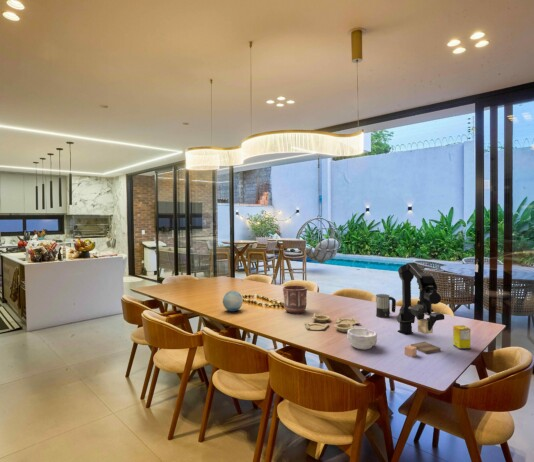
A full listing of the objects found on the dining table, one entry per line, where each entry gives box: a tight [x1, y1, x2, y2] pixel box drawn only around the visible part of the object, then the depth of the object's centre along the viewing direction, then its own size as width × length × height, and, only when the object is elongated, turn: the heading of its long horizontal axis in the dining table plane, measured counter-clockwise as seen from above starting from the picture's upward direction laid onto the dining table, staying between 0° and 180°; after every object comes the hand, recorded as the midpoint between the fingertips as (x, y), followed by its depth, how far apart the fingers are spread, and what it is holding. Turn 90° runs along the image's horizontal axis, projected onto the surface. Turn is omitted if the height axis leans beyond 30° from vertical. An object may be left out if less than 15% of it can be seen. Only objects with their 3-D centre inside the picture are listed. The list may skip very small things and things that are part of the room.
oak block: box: [417, 318, 434, 335], centre depth 177 cm, size 5×5×6 cm
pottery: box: [282, 284, 308, 315], centre depth 253 cm, size 18×18×18 cm
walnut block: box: [410, 341, 441, 355], centre depth 178 cm, size 10×10×2 cm
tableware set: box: [303, 312, 361, 333], centre depth 219 cm, size 35×29×4 cm
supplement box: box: [452, 324, 471, 350], centre depth 179 cm, size 6×6×11 cm
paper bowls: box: [346, 327, 378, 350], centre depth 182 cm, size 15×15×8 cm
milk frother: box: [375, 293, 397, 319], centre depth 242 cm, size 14×16×15 cm
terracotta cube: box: [404, 344, 418, 358], centre depth 170 cm, size 4×4×4 cm
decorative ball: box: [222, 290, 244, 312], centre depth 255 cm, size 15×15×15 cm
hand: (425, 329), depth 177 cm, fingers closed on oak block, 5 cm apart
